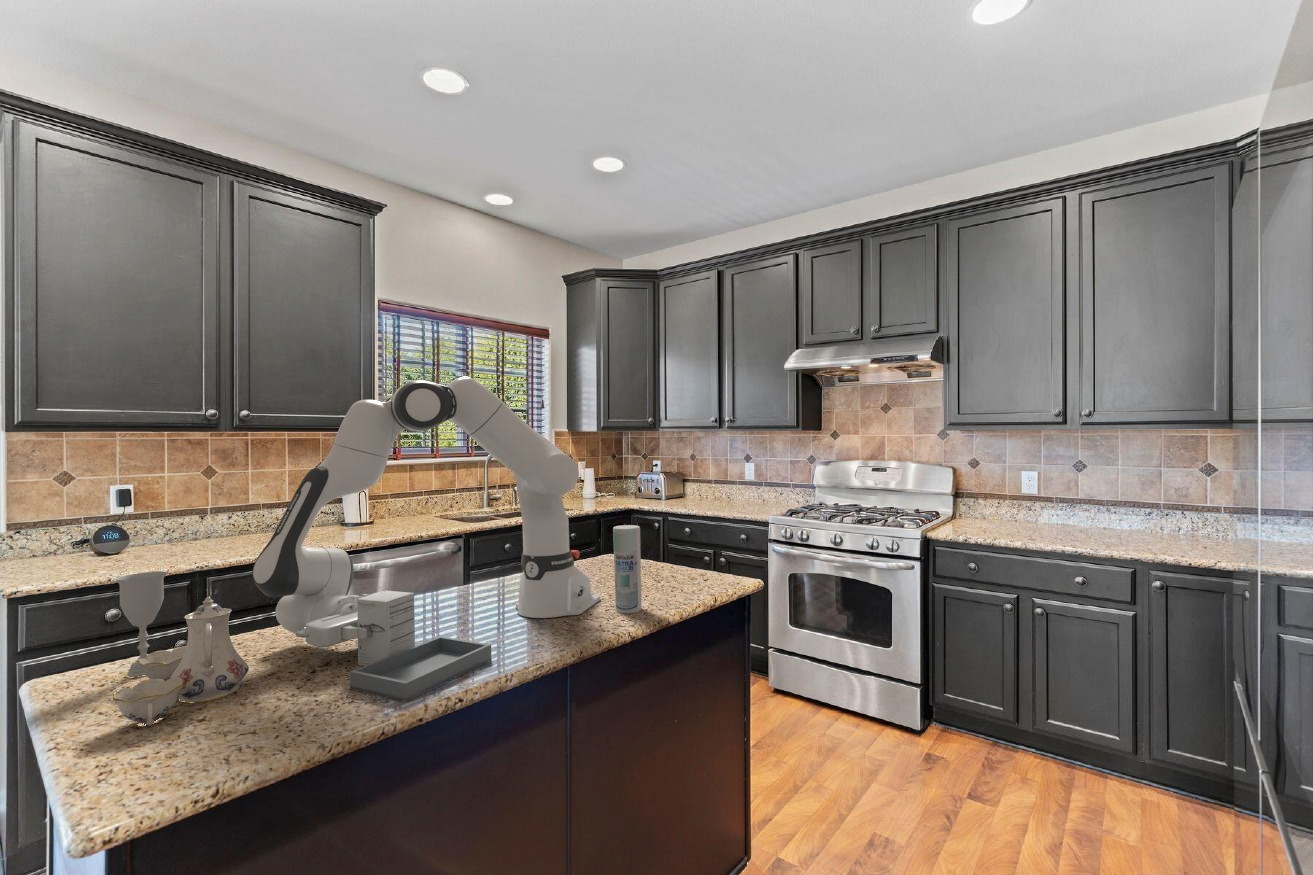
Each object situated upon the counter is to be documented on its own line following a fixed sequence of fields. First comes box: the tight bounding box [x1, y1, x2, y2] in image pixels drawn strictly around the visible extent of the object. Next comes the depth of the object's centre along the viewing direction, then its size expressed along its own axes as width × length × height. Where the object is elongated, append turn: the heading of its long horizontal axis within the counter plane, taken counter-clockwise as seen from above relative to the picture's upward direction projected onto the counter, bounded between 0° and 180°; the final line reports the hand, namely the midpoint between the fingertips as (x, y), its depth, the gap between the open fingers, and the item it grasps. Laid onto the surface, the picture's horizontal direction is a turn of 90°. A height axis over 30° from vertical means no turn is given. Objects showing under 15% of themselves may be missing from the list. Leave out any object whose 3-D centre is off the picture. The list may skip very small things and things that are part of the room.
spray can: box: [612, 524, 642, 614], centre depth 148 cm, size 6×6×20 cm
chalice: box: [115, 571, 168, 677], centre depth 113 cm, size 7×7×18 cm
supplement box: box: [357, 590, 416, 667], centre depth 116 cm, size 7×7×13 cm
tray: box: [349, 636, 493, 703], centre depth 109 cm, size 20×13×3 cm, turn 154°
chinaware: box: [112, 596, 250, 727], centre depth 102 cm, size 28×17×17 cm, turn 36°
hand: (389, 625), depth 116 cm, fingers open, 8 cm apart
